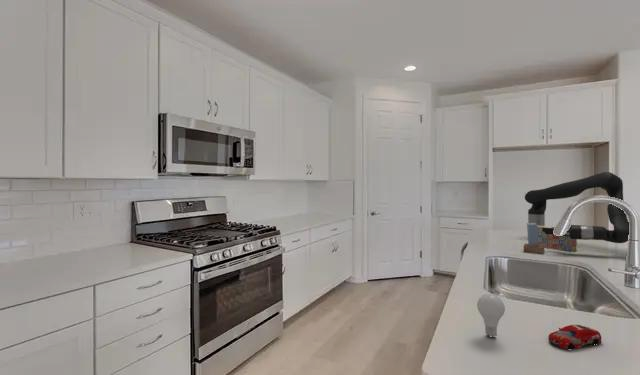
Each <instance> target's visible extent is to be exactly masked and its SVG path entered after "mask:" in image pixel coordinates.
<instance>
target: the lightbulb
mask: <svg viewBox="0 0 640 375" xmlns="http://www.w3.org/2000/svg"><path fill="white" fill-rule="evenodd" d="M476 307H477V310H478V313H479V314H480V316H481V318H482V319H483V323H484V327H485V328H484V330H485V332H484V333H486V334H487V335H489V336H496V337H497V336H498V334H497V332H498V331H497V330H498V326H499V322H500V320H501V318H502V317H503V316H504V315H505V312H506V308H505V304H504V302H503V300H502V299H501V298H500V297H498V296H497V295H496V294H491V293H487V294H486V293H485V294H483V295H481V296H480V297H479V298H478V300H477V304H476ZM486 334H485V335H486ZM487 335H486V336H487ZM489 336H488V337H489Z"/></svg>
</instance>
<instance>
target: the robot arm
mask: <svg viewBox="0 0 640 375" xmlns="http://www.w3.org/2000/svg"><path fill="white" fill-rule="evenodd" d="M594 188H600V189H603V190H604V191H605V192H606V194H607V196H608V197H609V196H610V197H615V198H618V199H621V200H623V201H624V182H623V179H622V178H621V177H619V176H618V175H616V174H614V173H613V172H610V171H602V172H599V173H596V174H593V175H590V176H587V177H583V178H580V179H576V180H573V181H571V180H570V181H567V182H564V183H563V182H562V183H559V184H555V185H553V186H549V187H545V188H541V189H533V190H529V191H527V192H526V193H525V195H524V200H525V201H526V202H527V203H528V204H531V207H530V208H528V211H527V216H528V218H527V219H528V220H527V223H536V224H537V225H539V226H546V225H545V223H546V221H545V219H546V216H545V215H546V214H545V212H546V209H547V200H548V201H549V200H560V199H569V198H573V197H577V196H579V195H580V194H582V193H584V192H585V191H587V190H590V189H594ZM606 208H607V209H606V210H607V216H608V220H609V222H610V224H612V226H613V230H610V229H607V228H606V227H605V226H598V225H596V226H595V225H594V226H593V225H580V224H579V225H578V224H570V225H571V227H570V229H569V228H568V229H569V230H568V231H567V233H566V234H565V235H563V236H569V238H570V239H577V240H581V241H583V240H584V241H588V240H591V241H593V240H594V241H605V242H608V243H609V242H610V243H615V244H624V243H627V242H628V241H629V240H628V235H629V223H630V222H628V221H629V220H628V216H627V213H626V214H625V213H624V211H623V210H621V209H620V208H618V207H616V206H614V205H612V204H609V203H608V204H607V207H606ZM551 227H552V228H543V232H545V234H553V230H554V227H555V226H551Z"/></svg>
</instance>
